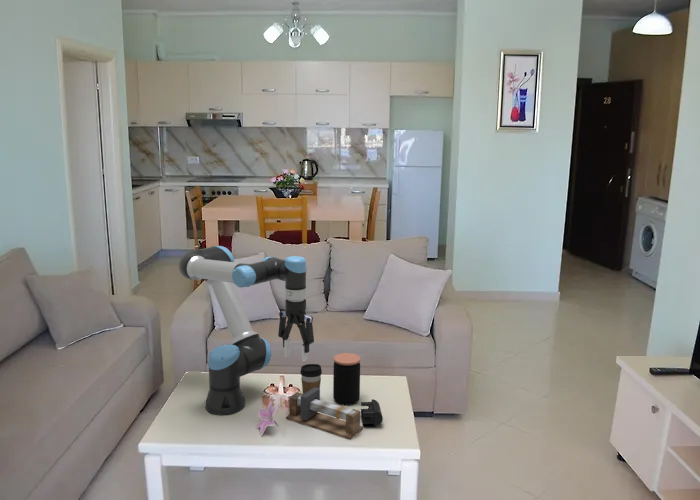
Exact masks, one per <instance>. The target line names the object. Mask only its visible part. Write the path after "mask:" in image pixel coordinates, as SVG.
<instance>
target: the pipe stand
mask: <svg viewBox="0 0 700 500" xmlns="http://www.w3.org/2000/svg"><path fill="white" fill-rule="evenodd" d="M302 395H303V393H301V392H298V391H297V392H295V393H293V394H292V395H290V396H289V397H288V415H286V416H285V419H286V420H288V421H291V422H295V423H297V424H300V425H303V426H306V427H309V428H312V429H316V430H318V431H322V432H325V433H327V434H331V435H334V436H337V437H339V438H344V439H347V440H349V441H350V440H351V439H353V438H354V437H355V436H356V435H357V434H359V433H360V432H361V431H362V430H363V429H364V428H363V425H361V410H359V409H355V408H352V409H350V408H348V407H347V408H346V407H344V406H343V405H340V406H339V405H336V404H332V403H330V402H326V401H323V400H321V399H320V400H317V399H312V400H311V401H310V410H313V411H317V413H316V414H314V415H313V416H312V417H310V418H309V419H308V420H303V419H301V396H302Z"/></svg>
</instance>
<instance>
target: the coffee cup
mask: <svg viewBox="0 0 700 500" xmlns="http://www.w3.org/2000/svg"><path fill="white" fill-rule="evenodd" d="M322 372H323V370H322V366H321V365H320V364H318V363H308V364H306V363H305V364H304V365H302V366H301V367H300V372H299V373H300V375H301V379H300V380H301V387H302V390H301V391H302V394H305V393H306V392H308V391H309V390H311V389H313V388H314V387H316V388H319V389H320V390H321V380H322V379H321V378H322Z"/></svg>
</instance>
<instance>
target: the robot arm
mask: <svg viewBox="0 0 700 500" xmlns="http://www.w3.org/2000/svg"><path fill="white" fill-rule="evenodd" d="M306 262H307V261H306V258H305V257H303V256H299V255H291V256H287V257H286V258H285V259H281V258H278V257H274V256H267V257H266V256H265V258H263V259H262V260H261V261H258V262H254V263H242V262H235V259H234V256H233V254H232V252H231V250H229V249H228V248H227V247H224V246H222V245H217V246H213V245H211V246H209V247H206V248H199V249H195V250H193V249H192V250H190V251H187V252H185V253H184V254H183V255H182V256H181V257H180V258H179V261H178V270H179V273H180V275H182V277H183V278H185V279H187V280H191V281H200V280H202V279H203V280H204V281H205V283H206V285H209V286H211V288H212V290H213V291H212V292H213V293H214V295H215V299H216V300H217V303H218V306H219V308H220V312H221V313H222V315H223V318H224V321H225V322H226V323H225V324H226V325H227V327H228V330H229V333H230V336H231V338H232V341H231V344H222V345H219V346H217V347H215V348H213V349H211V351H210V352H209V353H208V360H207V361H208V362H207V366H208V382H209V383H208V384H209V389H208V392H207V396H206V400H205V402H204V403H205V410H206V411H207V412H208V413H210V414H212V415H216V416H217V415H218V416H229V415H234V414H237V413H238V412H240V411H242V410H243V409H244V408H245V405H246V398H245V395H244V393H243V391H242V388H241V377H243V376H245V375H248V374H251V373H253V372H256V371H259V370H261V369H263V368H265V367H267V366H268V365H269V363H270V361H271V358H272V348H271V345H270V343H269V341H268V340H266V338H263V337H261V336H260V334H259V332H256V331H254V330H253V328H252V325H251V323H250V320H249V318H248V317H249V316H248V315H247V312H246V311H245V308H244V306H243V303H242V301H241V298H240V296H239V294H238V292H237V289H236V287H238V288H249V287H251V286H255V285H258V284H259V285H260V284H262V283H266V282H270V281H273V280H279V281H283V282H284V284H285V287H284V288H285V290H284V291H285V292H284V293H285V294H284V295H285V301H284V302H285V305H284V307H285V310H282V311H280V312H279V313H278V315H279V325H278V334H277V337H279V338H281V339H282V347H283V348H284V351H283V352H284V353H283V354H284V358H287V357H289V356H291V338H290V337H291V336H290V334H291V331H292V329H293V326H294V325H295V326H297V328H298V330H299V333H300V336H301V339H302V343H303V344H301V362H303V363H304V362H306V361H308V359H309V358H308V357H309V354H308V353H309V352H310V345H311V344H313V343H314V342H315V338H314V337H315V336H314V327H313V319H314V317H313V316H308V315H307V313H306V309H307V299H306V298H307V263H306ZM235 285H236V286H235Z"/></svg>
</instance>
